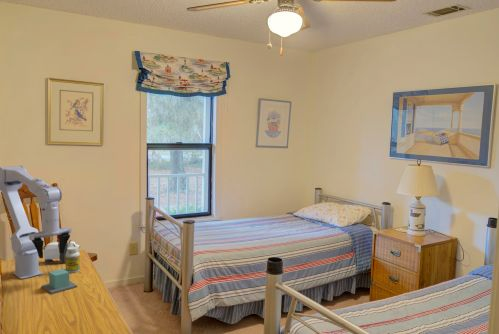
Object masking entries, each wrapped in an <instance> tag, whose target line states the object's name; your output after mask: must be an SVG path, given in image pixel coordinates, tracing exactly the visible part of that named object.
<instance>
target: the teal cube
mask: <svg viewBox="0 0 499 334" xmlns="http://www.w3.org/2000/svg"><path fill="white" fill-rule="evenodd" d="M48 279H49V281H48V282H49V283H48V284H49V286H51V287H52V288H54V289H58V288H62V287H66V286H69V281H70V273H69V272H68V271H66V269H64V268H61V269H57V270H53V271H49V272H48Z"/></svg>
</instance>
